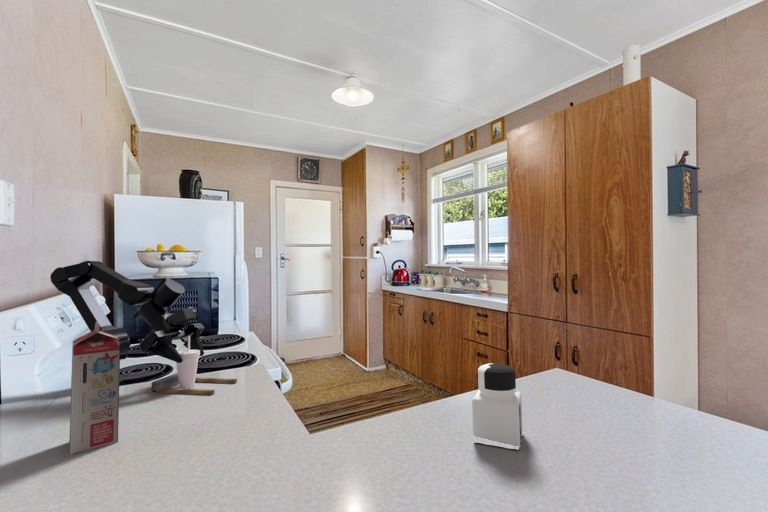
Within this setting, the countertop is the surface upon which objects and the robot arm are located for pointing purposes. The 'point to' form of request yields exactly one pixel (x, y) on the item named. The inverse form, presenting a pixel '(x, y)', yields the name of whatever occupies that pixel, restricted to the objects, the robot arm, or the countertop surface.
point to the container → (497, 405)
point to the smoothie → (188, 367)
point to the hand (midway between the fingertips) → (192, 358)
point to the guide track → (173, 380)
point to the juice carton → (94, 390)
